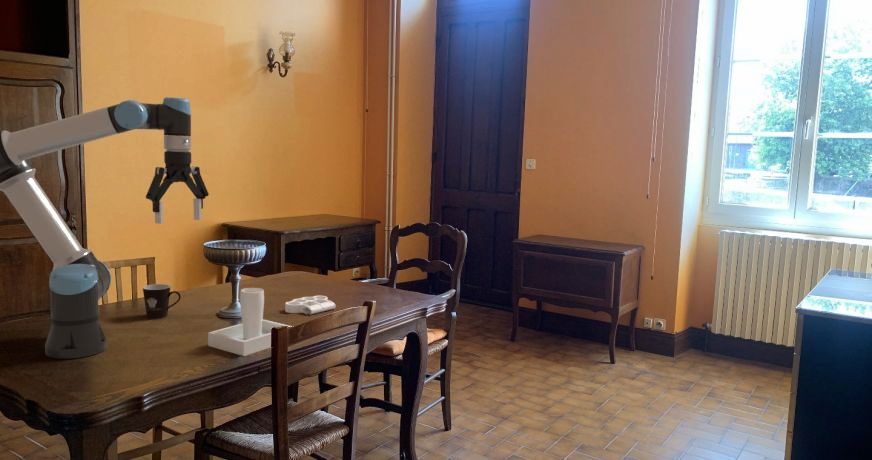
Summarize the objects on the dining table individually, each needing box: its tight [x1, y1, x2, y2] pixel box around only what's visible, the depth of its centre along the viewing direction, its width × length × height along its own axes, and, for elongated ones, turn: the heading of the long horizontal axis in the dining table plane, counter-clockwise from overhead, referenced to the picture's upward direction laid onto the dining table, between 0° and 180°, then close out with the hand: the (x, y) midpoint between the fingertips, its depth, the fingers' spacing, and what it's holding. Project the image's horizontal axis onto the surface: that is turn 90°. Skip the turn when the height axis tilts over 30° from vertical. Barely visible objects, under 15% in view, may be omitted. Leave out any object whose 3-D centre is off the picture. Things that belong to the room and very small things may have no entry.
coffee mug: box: [142, 283, 182, 320], centre depth 223 cm, size 12×9×10 cm
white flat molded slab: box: [284, 295, 337, 316], centre depth 241 cm, size 3×18×15 cm
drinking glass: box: [239, 287, 265, 340], centre depth 198 cm, size 7×7×15 cm
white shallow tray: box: [207, 318, 292, 357], centre depth 199 cm, size 20×15×4 cm
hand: (178, 221), depth 202 cm, fingers open, 13 cm apart
